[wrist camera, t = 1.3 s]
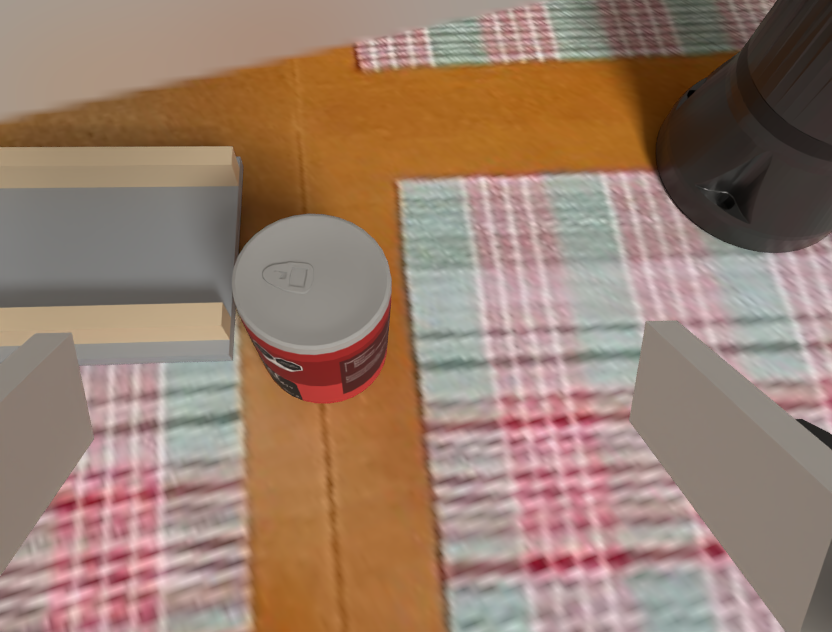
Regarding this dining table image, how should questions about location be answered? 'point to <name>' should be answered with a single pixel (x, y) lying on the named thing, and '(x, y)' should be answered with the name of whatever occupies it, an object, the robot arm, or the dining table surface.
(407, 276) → the dining table surface
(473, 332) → the dining table surface
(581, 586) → the dining table surface
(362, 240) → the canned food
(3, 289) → the track
